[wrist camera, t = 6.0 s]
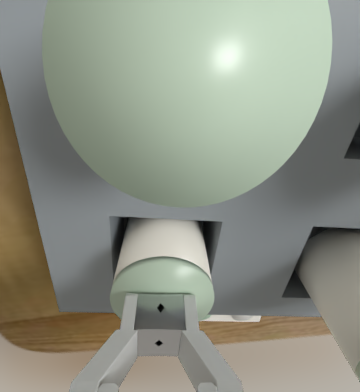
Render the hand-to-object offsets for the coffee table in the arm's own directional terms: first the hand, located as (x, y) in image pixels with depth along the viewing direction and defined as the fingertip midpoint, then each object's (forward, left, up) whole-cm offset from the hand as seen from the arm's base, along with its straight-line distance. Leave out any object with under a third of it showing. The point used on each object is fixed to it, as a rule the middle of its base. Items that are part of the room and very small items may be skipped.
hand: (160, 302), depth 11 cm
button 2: (0, 0, -6) cm, 6 cm away
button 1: (0, -9, -3) cm, 10 cm away
